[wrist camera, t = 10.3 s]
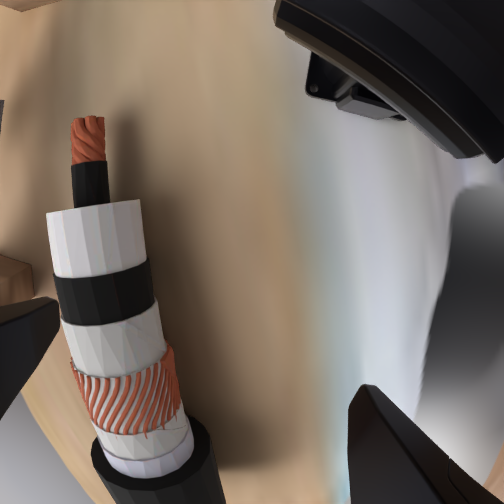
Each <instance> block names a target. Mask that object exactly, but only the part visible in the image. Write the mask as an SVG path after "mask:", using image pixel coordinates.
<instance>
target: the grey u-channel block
mask: <svg viewBox="0 0 504 504" xmlns="http://www.w3.org/2000/svg"><path fill="white" fill-rule="evenodd" d="M3 107H4V100H0V132H1V122H2V114H3Z"/></svg>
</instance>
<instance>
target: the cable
mask: <svg viewBox="0 0 504 504" xmlns="http://www.w3.org/2000/svg"><path fill="white" fill-rule="evenodd" d="M104 138H105V124H104V117H96V116H87V117H85V118H76V119H74V122H73V123H71V141H72V156H73V157H72V166H71V173H72V188H73V200H74V209H68V210H62V211H56V212H50V213H46V217H47V226H48V234H49V241H50V248H51V255H52V261H53V267H54V274H53V277H54V281H55V286H56V291H57V295H58V299H59V304H60V308H61V312H62V315H61V321H62V325H63V329H64V332H65V335H66V339H67V342H68V345H69V348H70V352H71V355H72V357H71V360H72V362H70V364H71V366H72V367H71V368H72V371H73V374H74V376H75V379H76V381H77V384H78V387H79V390H80V392H81V394H82V398H83V400H84V402H85V404H86V407H87V410H88V412H89V414H90V419H91V421H92V423H93V426H94V428H95V430H96V432H97V434H98V436H97V437H96V439H95V440H94V441H93V443H92V449H91V457H92V462H93V466H94V468H95V470H96V472H97V473H98V475H99V477H100V478H101V480H102V482H103V483H104V485H105V487H106V488H107V490H108V491H109V493H110V495H111V496H112V498H113V499H114V501H115V502H116V504H226V500H225V496H224V493H223V489H222V485H221V481H220V477H219V473H218V469H217V465H216V461H215V456H214V452H213V448H212V443H211V439H210V435H209V434H208V432H207V430H206V429H205V427H204V426H203V425H202V424H201V423H200V422H199V421H197V420H196V419H195V418H194V417H191V416H189V415H186V414H185V413H184V409H183V404H182V399H181V397H180V393H179V383H178V379H177V376H176V371H175V362H174V351H173V349H172V347H170V346H169V343H168V342H167V340H164V337H163V332H162V326H161V321H160V315H159V308H158V302H157V299H156V297H155V296H154V293H153V286H152V279H151V272H150V264H149V258H148V257H147V256H146V249H145V241H144V233H143V224H142V215H141V205H140V199H137V200H129V201H121V202H114V203H110V196H109V183H108V167H107V161H106V154H105V139H104Z"/></svg>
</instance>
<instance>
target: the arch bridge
mask: <svg viewBox="0 0 504 504" xmlns="http://www.w3.org/2000/svg"><path fill="white" fill-rule="evenodd" d="M57 1H61V0H0V5H3V6H6V7H9V8H12V9H14V10H17V11H20V12H23V11H26V10H29V9H32V8H36V7H39V6H43V5H46V4H50V3H53V2H57ZM33 297H35V296H34V288H33V280H32V270H31V265H29V264H26V263H23V262H20V261H16V260H13V259H10V258H7V257H4V256H1V255H0V306H3V305H8V304H12V303H17V302H22V301H26V300H31V299H32V298H33Z"/></svg>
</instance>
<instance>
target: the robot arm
mask: <svg viewBox="0 0 504 504" xmlns="http://www.w3.org/2000/svg"><path fill="white" fill-rule="evenodd" d="M273 19H274V23H275V26H276V27H277V28H279V29H281V30H283V31H285V35H286V36H287V37H288V38H290V39H291V40H293V41H295V42H297V43H298V44H300V45H302V46H304V47H305V48H307V49H309V50H310V51H311V56H310V62H309V67H308V73H307V79H306V85H305V92H306V94H307V95H308V96H310V97H313V98H317V99H322V100H326V101H330V102H335V103H336V106H337V108H338V109H339V110H343V111H347V112H350V113H354V114H358V115H362V116H365V117H369V118H372V119H376V120H379V119H383V118H387V117H389V118H392V119H395V120H398V121H404V120H409V121H410V122H411V123H412V124H413V125H414V126H416V127H417V128H418V129H419V130H420V131H421V132H422V133H424V134H425V135H426V136H427V137H428V138H429V139H430V140H431V141H432V142H433V143H435V144H436V145H437V146H438V147H440V148H441V149H443V150H444V151H445V152H449V153H450V154H451V155H452V156H453V157H454V158H456V159H463V158H474V157H478V156H481V155H484V154H485V155H486V156H487V157H488V158H489V159H490V160H491V162H492V163H494V164H496V163H498V162H499V161H500V160H502V159H503V158H504V0H276V3H275V6H274V12H273ZM310 86H316V87H317V89H318V91H317V92H311V90H310ZM399 114H401V115H403V116H400V115H399ZM59 328H60V313H59V303H58V301H57V300H55V299H52V298H50V297H47V296H45V297H40V298H36V299H31V300H26V301H22V302H17V303H12V304H8V305H3V306H0V420H1V418H2V417H3V415H4V414H5V412H6V411H7V409H8V408H9V406H10V405H11V403H12V402H13V400H14V399H15V398H16V396H17V395H18V393H19V392H20V390H21V389H22V387H23V386H24V385H25V383H26V382H27V380H28V379H29V378H30V376H31V375H32V373H33V372H34V371H35V369H36V368H37V366H38V365H39V363H40V361H41V360H42V358H43V356H44V354H45V353H46V351H47V349H48V348H49V346H50V344H51V343H52V341H53V339H54V338H55V336H56V334H57V333H58V331H59ZM347 455H348V469H349V481H350V496H351V504H504V503H503V502H502V501H500V500H499V499H498V498H497V497H495V496H494V495H493V494H491V493H490V492H489V491H488V490H486V489H485V488H484V487H483V486H481V485H480V484H479V483H478V482H476V481H475V480H474V479H473V478H472V477H470V476H469V475H468V474H467V473H466V472H465V471H464V470H463V469H461V468H460V467H459V466H458V465H457V464H456V463H455V462H454V461H453V460H452V459H451V458H450V459H449V456H448V455H447V454H446V453H445V452H444V451H443V450H442V449H440V448H439V447H438V446H437V445H436V444H435V443H434V442H433V441H432V440H431V439H430V438H429V437H428V436H427V435H426V434H425V433H424V432H423V431H422V430H421V429H420V428H419V427H418V426H417V425H416V424H415V423H414V422H413V421H412V420H411V419H410V418H408V417H407V416H406V415H405V414H404V413H403V412H402V411H401V410H400V409H399V408H398V407H397V406H396V405H395V404H394V403H393V402H392V401H391V400H390V399H389V398H388V397H387V396H386V395H385V394H384V393H383V392H382V391H381V390H380V389H379V388H378V387H377V386H375V385H368V384H363V385H361V386H360V388H359V389H358V391H357V393H356V394H355V396H354V398H353V400H352V401H351V403H350V405H349V409H348V447H347Z"/></svg>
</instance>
